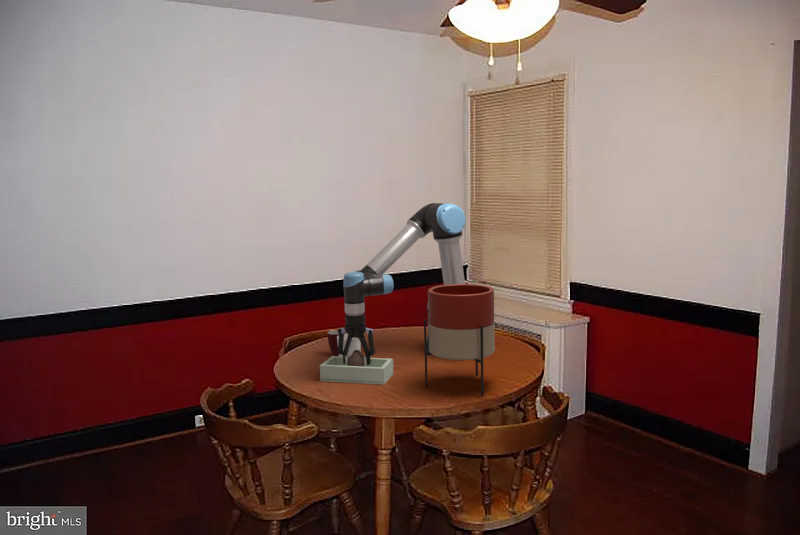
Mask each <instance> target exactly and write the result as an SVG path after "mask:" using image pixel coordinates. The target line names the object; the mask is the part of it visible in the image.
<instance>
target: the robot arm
mask: <svg viewBox="0 0 800 535" xmlns="http://www.w3.org/2000/svg"><path fill="white" fill-rule="evenodd" d="M466 221H467V219H466V214H465V212H464V210H463V209H462V208H461V207H460V206H458V205H456V204H454V203H448V202H447V203H446V202H445V203H443V202H442V203H441V202H438V203H437V202H433V203H428V204H426V205H424V206H422V207H421V208H420V209H418V211H417V212H415V213H414V214H413V215H412V216H411V217H410V218H409V219H408V220H407V221H406V225H405V226H404V227H403V228H402V229H401V230H400V231H399V232H398V233H397V234H396V235H395V236H394V237H393V238H391V240H390V241H389V242H388V243H387V244H386V245H385V246H384V247H383V248H382V249H381V250H380V251H378V253H377V254H376V255H375V256H374V257H373V258H372V259H371V260H370V261H368V262H367V264H366V265H365V266H364V267H362V268H361V269H359V270H358V269H357V270H355V271H350V272H346V273H345V274H344V275H343V284H342V285H343V294H344V295H343V296H344V297H343V298H344V313H345V315H344V324H345V326H344V327H339V328H338V329H337V330H338V334H339V342H338V354H341V355H343V363H344V364H346V366H348V360H349V358H350V356H349V355H347V354H348V350H349V347H350V344H351V341H352V338H359V340H360V342H361V348H362V350H363V352H364V367H368V365H370V363H371V358H372V357H371V356H374V355H375V354H376V348H375V340H374V331H375V330H374V328H368V327H367V325H366V314H365V312H366V310H365V308H366V307H365V306H366V304H365V297H374V296H380V295H381V296H382V295H384V296H385V295H387V294H391V293H392V292H393V291H394V287H395V286H394V285H395V284H394V280H393V277H392V275H390V274H385V273H386V272H387V271H388V270H389V269H390V268H391V267H392V266H393V265H394V264H395V263H396V262H397V261H398V260H399V259H400V258H401V257H402V256H403V255H404V254H405V253H406V252H407V251H408V250H409V249H410V248H411V247H413V245H414V244H415V243H416V242H418V241H419V239H424V238H425V237H426V236H427V235H428V234H430V233H432V236H433V240H434V241H435V242H437V245H438V250H439V258H440V266H441V272H442V280H443V285H449V284H466V280H465V275H464V274H465V273H464V266H463V258H462V251H461V245H460V243H461V242H460V239H461V238H462V236H463V230H464V228H465V226H466ZM426 309H427V330H428V331H427V335H426V340H427V353H430V351H429V311H428V305H427V307H426ZM345 331H346V334H348V337H347V341H346V344H345V348H344V351H343V343H344V333H345ZM365 333H366V334H367V340H368V343H367V340H366V337H365Z"/></svg>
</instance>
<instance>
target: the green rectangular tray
mask: <svg viewBox="0 0 800 535" xmlns="http://www.w3.org/2000/svg"><path fill="white" fill-rule="evenodd" d="M319 375H320V376H319V379H320V380H319V381H320V382H329V383H330V382H331V383H348V384H350V383H351V384H367V385H385V384H387V382H388V381H389V379H390V378H391V377H392V376H393V375H394V359H393V358H385V357H383V358H382V357H379V358H378V357H371V363H370V365H368V367H363V366H346V364H344V363H343V357H342V356H334V355H331V356H330V357H329V358H328V359H326V360H325V361H323V362H322V363H321V364H320V365H319Z"/></svg>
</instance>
